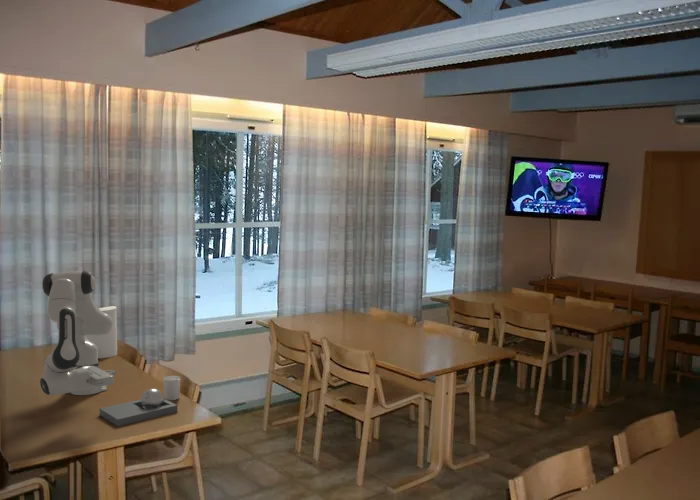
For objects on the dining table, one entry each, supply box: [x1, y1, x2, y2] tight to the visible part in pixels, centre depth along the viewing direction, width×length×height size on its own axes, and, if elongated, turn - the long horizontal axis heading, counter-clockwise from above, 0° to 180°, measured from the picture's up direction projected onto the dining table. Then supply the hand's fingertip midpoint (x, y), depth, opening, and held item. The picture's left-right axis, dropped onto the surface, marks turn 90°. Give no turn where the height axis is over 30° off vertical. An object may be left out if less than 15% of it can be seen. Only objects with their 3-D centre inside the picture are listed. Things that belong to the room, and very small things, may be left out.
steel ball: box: [140, 388, 165, 410], centre depth 304 cm, size 10×10×10 cm
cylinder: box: [85, 305, 118, 359], centre depth 396 cm, size 17×17×28 cm
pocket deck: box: [99, 398, 178, 427], centre depth 300 cm, size 28×18×3 cm, turn 134°
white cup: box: [163, 375, 181, 401], centre depth 321 cm, size 8×8×10 cm
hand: (114, 372), depth 291 cm, fingers closed
